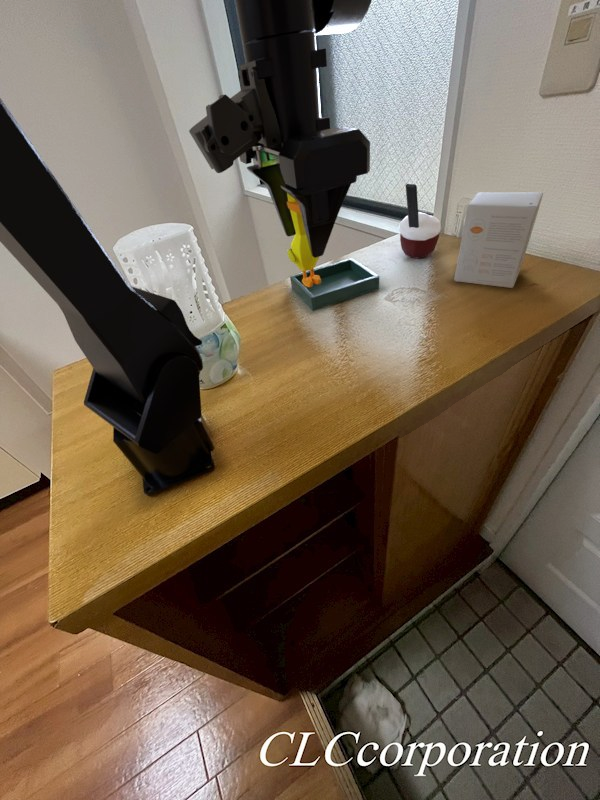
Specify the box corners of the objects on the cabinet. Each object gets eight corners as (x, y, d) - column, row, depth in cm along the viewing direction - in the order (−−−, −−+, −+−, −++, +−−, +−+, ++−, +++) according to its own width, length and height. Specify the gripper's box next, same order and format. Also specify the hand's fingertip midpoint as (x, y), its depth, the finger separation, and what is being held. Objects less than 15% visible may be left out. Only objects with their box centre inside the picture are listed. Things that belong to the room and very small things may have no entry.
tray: (312, 311, 50) (311, 298, 49) (291, 288, 56) (289, 276, 55) (379, 289, 52) (379, 276, 51) (352, 269, 58) (351, 257, 57)
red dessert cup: (423, 242, 63) (432, 164, 54) (449, 251, 58) (464, 169, 50) (382, 258, 60) (384, 179, 52) (406, 269, 56) (414, 185, 48)
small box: (519, 272, 50) (545, 191, 43) (513, 289, 47) (539, 205, 40) (462, 266, 54) (477, 190, 47) (452, 281, 51) (467, 203, 44)
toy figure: (340, 287, 37) (331, 155, 29) (312, 298, 37) (294, 165, 29) (311, 270, 42) (296, 152, 34) (285, 279, 41) (264, 160, 33)
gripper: (165, 65, 32) (215, 240, 42) (195, 38, 18) (257, 301, 29) (277, 47, 34) (298, 218, 44) (376, 10, 20) (371, 266, 31)
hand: (303, 245), depth 37 cm, fingers closed on toy figure, 7 cm apart
